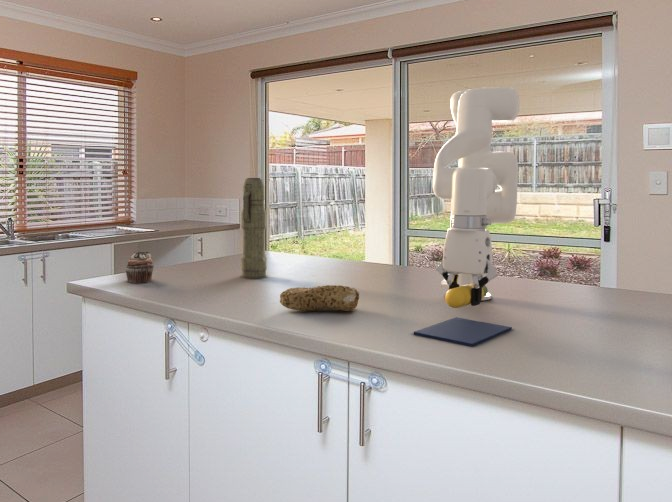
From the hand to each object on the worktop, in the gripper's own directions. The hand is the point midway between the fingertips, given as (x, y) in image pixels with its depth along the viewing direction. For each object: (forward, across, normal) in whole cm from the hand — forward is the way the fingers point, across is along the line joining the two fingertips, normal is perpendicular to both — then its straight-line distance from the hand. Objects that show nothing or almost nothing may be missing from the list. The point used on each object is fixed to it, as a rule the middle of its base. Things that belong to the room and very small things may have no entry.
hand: (464, 302), depth 136 cm
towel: (+7, 0, 0) cm, 7 cm away
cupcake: (+7, +111, +14) cm, 112 cm away
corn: (+1, 0, -1) cm, 1 cm away
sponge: (+7, +38, +6) cm, 39 cm away
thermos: (+7, +90, -20) cm, 93 cm away
